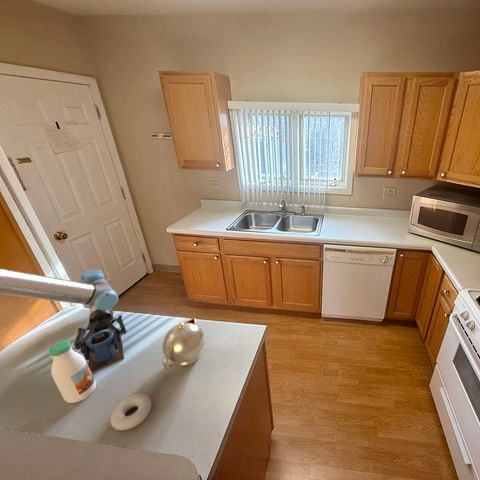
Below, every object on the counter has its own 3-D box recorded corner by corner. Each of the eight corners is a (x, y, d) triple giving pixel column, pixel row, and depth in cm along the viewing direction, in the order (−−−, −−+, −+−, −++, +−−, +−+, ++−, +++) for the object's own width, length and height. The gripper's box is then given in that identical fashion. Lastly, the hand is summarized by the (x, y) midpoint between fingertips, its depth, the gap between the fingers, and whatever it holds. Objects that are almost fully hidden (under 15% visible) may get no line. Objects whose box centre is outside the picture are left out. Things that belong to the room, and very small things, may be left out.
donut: (122, 441, 70) (159, 410, 78) (118, 433, 69) (156, 403, 76) (106, 419, 75) (142, 392, 83) (102, 412, 73) (140, 385, 81)
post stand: (88, 372, 88) (79, 351, 84) (89, 353, 95) (81, 333, 91) (124, 358, 94) (117, 338, 90) (122, 341, 101) (115, 322, 97)
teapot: (183, 340, 103) (176, 307, 97) (214, 345, 102) (209, 312, 95) (150, 379, 87) (139, 343, 80) (187, 386, 86) (178, 350, 79)
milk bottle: (70, 409, 77) (45, 361, 69) (61, 395, 80) (36, 348, 72) (101, 389, 83) (81, 343, 75) (91, 377, 87) (71, 332, 79)
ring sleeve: (90, 364, 90) (82, 347, 87) (97, 349, 96) (91, 333, 93) (114, 358, 93) (108, 342, 89) (120, 344, 99) (114, 328, 95)
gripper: (133, 313, 112) (139, 346, 96) (71, 332, 100) (65, 374, 84) (129, 299, 109) (134, 331, 93) (64, 317, 97) (57, 357, 81)
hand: (101, 351), depth 89 cm, fingers closed on ring sleeve, 7 cm apart
